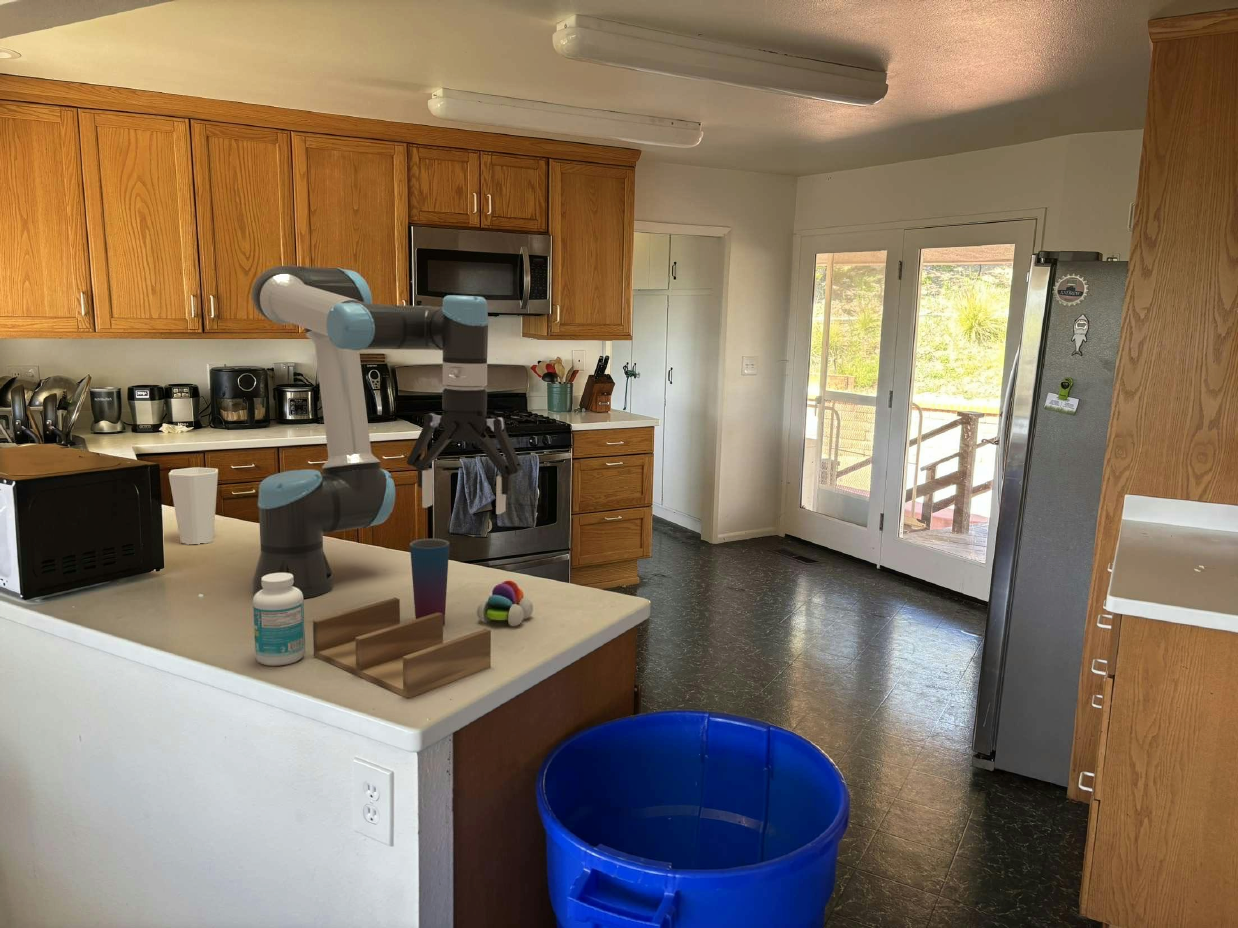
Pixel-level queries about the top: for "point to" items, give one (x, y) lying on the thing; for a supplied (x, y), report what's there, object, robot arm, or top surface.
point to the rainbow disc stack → (505, 605)
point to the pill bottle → (278, 621)
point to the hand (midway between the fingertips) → (463, 509)
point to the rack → (398, 648)
